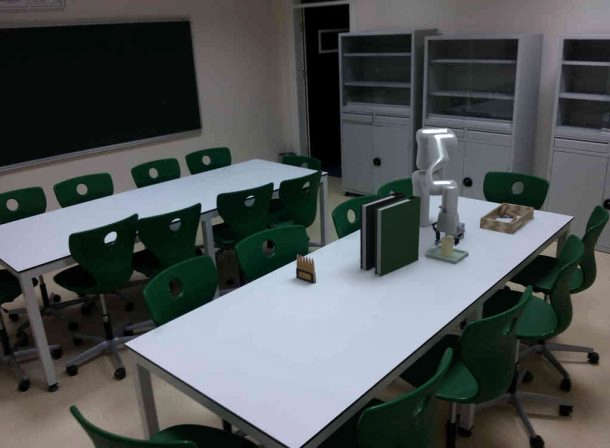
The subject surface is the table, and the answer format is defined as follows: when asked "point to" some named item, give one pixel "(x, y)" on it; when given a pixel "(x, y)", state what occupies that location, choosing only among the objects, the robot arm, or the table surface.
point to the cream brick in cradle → (447, 246)
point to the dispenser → (452, 234)
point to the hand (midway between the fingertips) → (447, 242)
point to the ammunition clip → (305, 269)
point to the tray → (452, 258)
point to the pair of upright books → (389, 232)
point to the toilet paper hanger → (507, 213)
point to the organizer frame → (506, 227)
